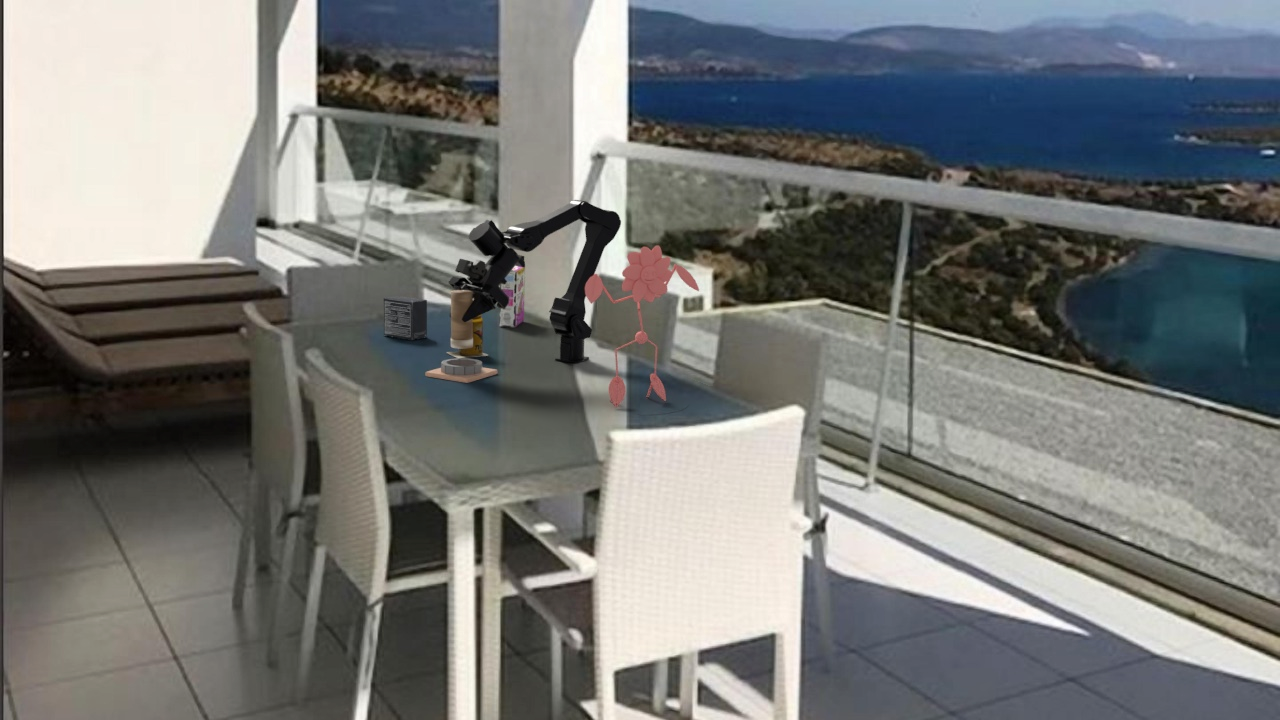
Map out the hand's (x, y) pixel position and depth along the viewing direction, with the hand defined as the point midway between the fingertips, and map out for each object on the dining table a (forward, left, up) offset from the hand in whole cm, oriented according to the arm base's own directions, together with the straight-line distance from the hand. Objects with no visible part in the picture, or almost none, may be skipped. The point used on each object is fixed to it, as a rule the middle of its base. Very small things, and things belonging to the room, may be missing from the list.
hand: (456, 319), depth 301 cm
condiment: (-21, -13, -14) cm, 28 cm away
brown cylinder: (-1, +1, -7) cm, 7 cm away
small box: (-30, -40, -14) cm, 52 cm away
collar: (-1, 0, -13) cm, 13 cm away
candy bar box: (-63, -28, -14) cm, 70 cm away
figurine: (+1, +50, -14) cm, 52 cm away
